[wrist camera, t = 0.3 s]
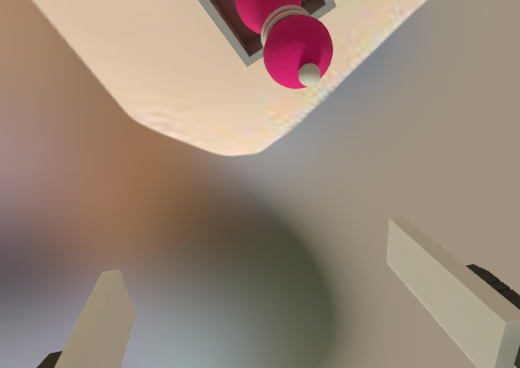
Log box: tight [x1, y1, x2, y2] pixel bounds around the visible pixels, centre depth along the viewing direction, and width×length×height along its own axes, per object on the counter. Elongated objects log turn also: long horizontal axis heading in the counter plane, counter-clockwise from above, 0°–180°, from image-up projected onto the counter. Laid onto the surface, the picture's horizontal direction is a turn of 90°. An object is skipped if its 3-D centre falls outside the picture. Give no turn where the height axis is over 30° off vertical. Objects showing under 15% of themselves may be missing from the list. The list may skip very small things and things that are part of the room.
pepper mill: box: [235, 0, 333, 89], centre depth 30 cm, size 7×7×20 cm
